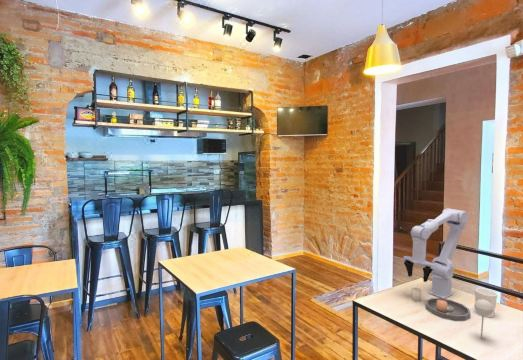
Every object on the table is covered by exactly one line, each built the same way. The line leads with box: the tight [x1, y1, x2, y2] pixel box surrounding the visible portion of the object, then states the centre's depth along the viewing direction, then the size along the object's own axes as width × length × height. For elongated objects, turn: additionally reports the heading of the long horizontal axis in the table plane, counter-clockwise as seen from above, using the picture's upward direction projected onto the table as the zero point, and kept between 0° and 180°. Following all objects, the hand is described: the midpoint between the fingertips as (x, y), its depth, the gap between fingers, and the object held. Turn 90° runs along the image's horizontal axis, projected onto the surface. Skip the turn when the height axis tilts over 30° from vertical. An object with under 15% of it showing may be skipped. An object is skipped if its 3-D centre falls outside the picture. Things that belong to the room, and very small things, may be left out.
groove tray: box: [425, 297, 471, 322], centre depth 142 cm, size 17×17×2 cm
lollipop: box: [473, 299, 493, 339], centre depth 121 cm, size 6×6×15 cm
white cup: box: [474, 287, 498, 318], centre depth 140 cm, size 8×8×10 cm
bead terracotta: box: [436, 300, 447, 314], centre depth 139 cm, size 4×4×5 cm
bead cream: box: [411, 287, 422, 302], centre depth 153 cm, size 4×4×5 cm
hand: (417, 278), depth 152 cm, fingers open, 7 cm apart
